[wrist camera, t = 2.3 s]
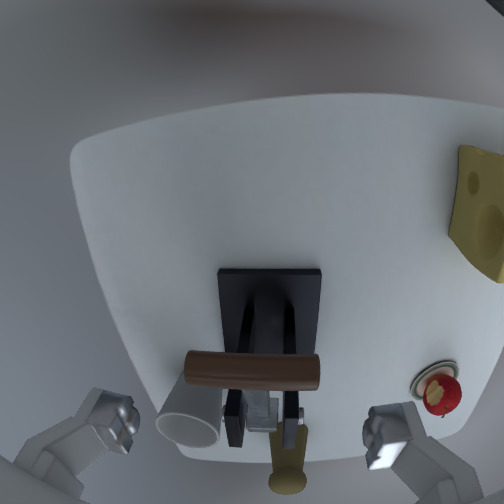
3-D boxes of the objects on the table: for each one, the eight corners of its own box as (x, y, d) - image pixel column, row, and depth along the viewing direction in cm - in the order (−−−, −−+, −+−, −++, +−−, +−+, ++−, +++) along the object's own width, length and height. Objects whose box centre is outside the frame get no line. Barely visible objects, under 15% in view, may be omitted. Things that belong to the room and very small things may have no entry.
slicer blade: (188, 333, 11) (179, 391, 10) (319, 336, 11) (321, 398, 9) (233, 402, 22) (230, 430, 21) (295, 404, 22) (294, 432, 20)
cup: (228, 364, 35) (216, 418, 27) (232, 412, 39) (223, 460, 31) (169, 358, 36) (148, 408, 28) (181, 405, 40) (166, 451, 32)
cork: (277, 443, 42) (274, 500, 32) (262, 425, 40) (257, 487, 30) (313, 435, 40) (315, 494, 30) (300, 417, 39) (301, 481, 28)
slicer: (219, 268, 30) (176, 374, 17) (320, 269, 29) (346, 379, 16) (228, 358, 35) (204, 463, 21) (311, 359, 34) (320, 467, 20)
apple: (404, 402, 36) (415, 435, 30) (417, 365, 33) (432, 400, 27) (448, 392, 35) (462, 422, 29) (464, 354, 32) (482, 385, 26)
